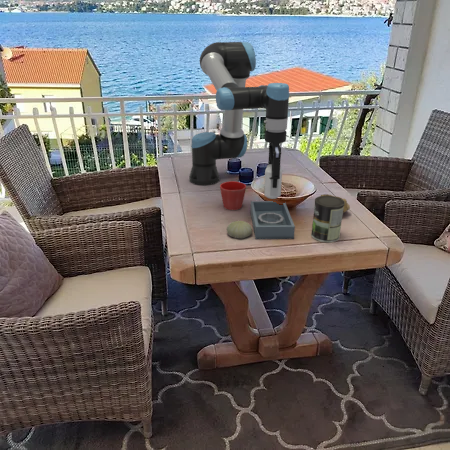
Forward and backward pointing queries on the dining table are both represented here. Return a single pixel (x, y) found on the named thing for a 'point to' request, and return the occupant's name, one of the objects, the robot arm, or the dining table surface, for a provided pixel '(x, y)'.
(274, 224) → the inlet ring
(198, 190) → the dining table surface
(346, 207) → the oil lamp
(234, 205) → the flower pot
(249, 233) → the sea urchin shell
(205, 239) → the dining table surface
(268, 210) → the walled box
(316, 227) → the coffee can
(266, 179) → the beverage can
